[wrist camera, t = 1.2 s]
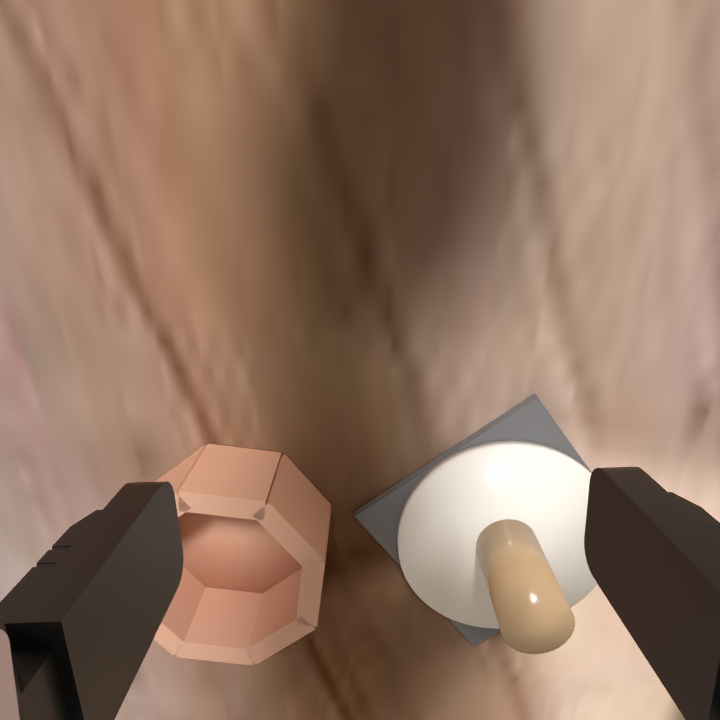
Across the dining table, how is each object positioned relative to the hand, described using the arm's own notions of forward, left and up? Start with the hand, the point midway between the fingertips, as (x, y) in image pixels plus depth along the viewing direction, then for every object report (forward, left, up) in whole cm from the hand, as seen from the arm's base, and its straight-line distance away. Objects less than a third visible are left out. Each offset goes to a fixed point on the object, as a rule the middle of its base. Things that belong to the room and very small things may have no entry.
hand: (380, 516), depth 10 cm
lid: (+2, +16, -18) cm, 25 cm away
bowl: (+15, +6, -19) cm, 25 cm away
